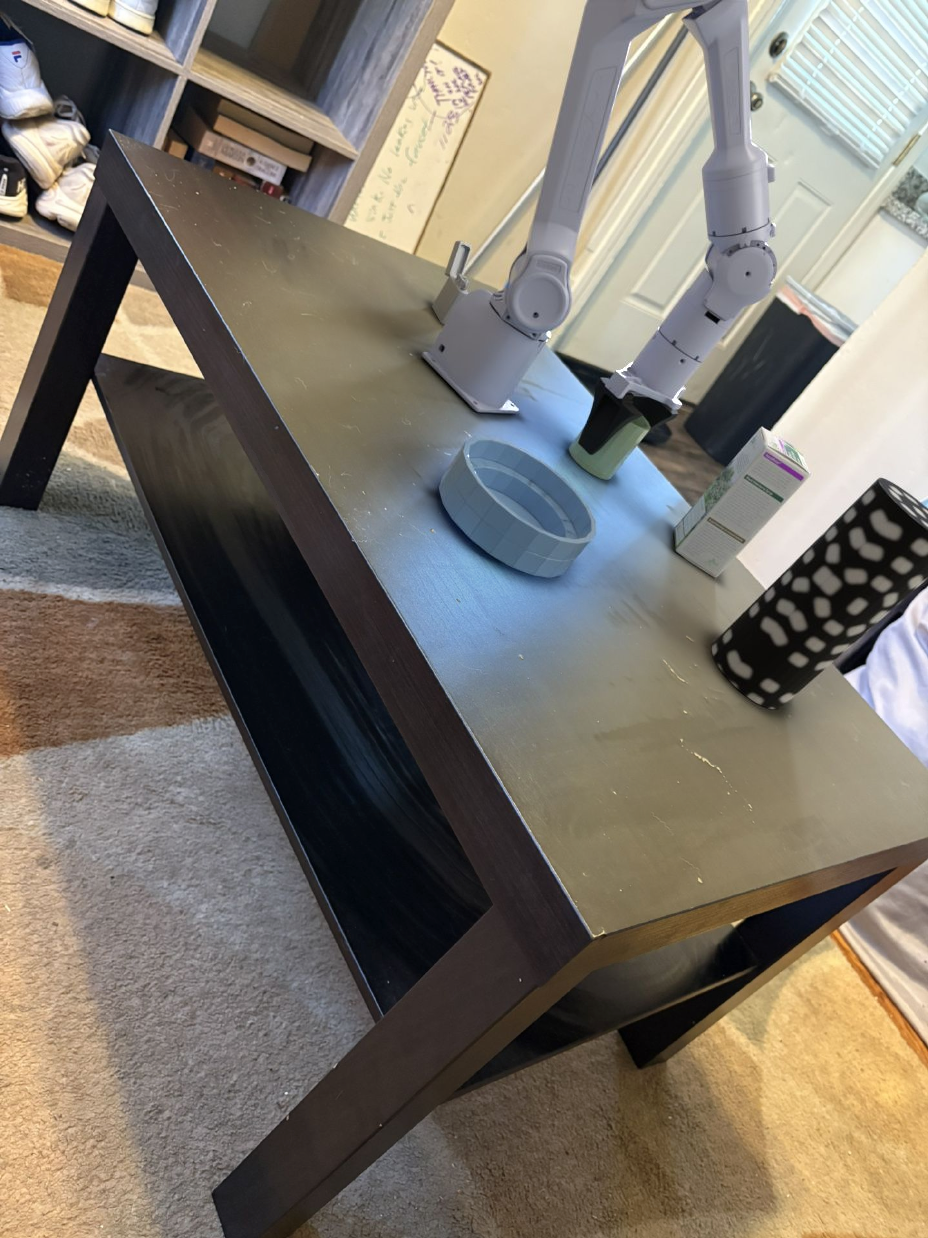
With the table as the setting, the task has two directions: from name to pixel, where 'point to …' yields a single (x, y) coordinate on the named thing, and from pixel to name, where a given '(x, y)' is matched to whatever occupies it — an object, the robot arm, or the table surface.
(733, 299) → the robot arm
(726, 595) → the table surface
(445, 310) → the lighter
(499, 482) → the bowl
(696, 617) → the table surface
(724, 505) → the syrup box
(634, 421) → the cup
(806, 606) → the spotted tube
